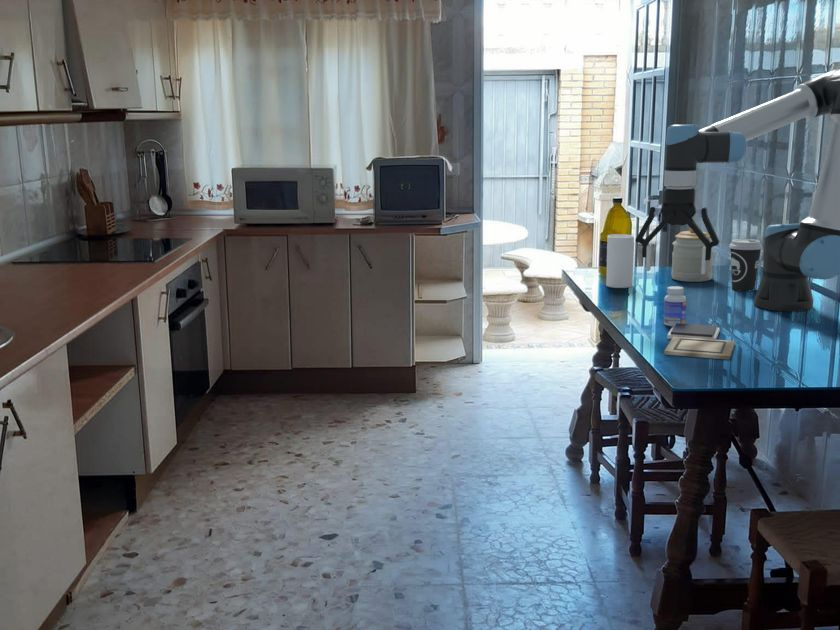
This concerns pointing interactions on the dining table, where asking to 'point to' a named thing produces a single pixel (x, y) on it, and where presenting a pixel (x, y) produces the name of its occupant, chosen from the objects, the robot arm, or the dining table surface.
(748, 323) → the dining table surface
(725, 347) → the marked board
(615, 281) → the cup
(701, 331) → the ink pad
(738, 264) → the coffee cup
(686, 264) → the jar
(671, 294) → the pill bottle
